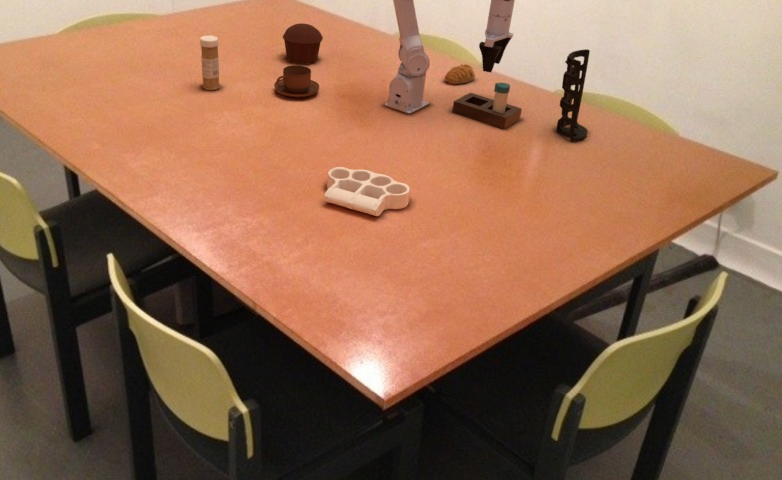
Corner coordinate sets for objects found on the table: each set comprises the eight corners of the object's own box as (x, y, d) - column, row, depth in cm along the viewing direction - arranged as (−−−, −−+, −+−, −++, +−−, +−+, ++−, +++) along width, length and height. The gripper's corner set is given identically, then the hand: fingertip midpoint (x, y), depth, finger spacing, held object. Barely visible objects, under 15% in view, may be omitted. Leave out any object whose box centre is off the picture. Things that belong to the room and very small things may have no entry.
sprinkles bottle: (213, 83, 208) (212, 33, 200) (223, 88, 205) (221, 38, 198) (199, 86, 206) (196, 36, 198) (208, 92, 203) (206, 41, 195)
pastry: (458, 87, 215) (459, 74, 213) (438, 81, 219) (439, 68, 217) (476, 79, 221) (478, 66, 219) (456, 73, 225) (458, 60, 223)
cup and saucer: (299, 104, 199) (300, 81, 195) (264, 92, 205) (264, 69, 201) (328, 92, 207) (329, 70, 204) (293, 81, 213) (294, 59, 209)
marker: (499, 123, 196) (506, 88, 191) (486, 118, 198) (492, 84, 193) (506, 119, 198) (512, 85, 193) (492, 115, 200) (499, 81, 195)
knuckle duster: (309, 201, 157) (340, 173, 168) (390, 225, 151) (417, 194, 162) (310, 187, 156) (341, 159, 167) (392, 210, 150) (419, 180, 161)
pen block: (503, 129, 193) (506, 118, 191) (452, 112, 201) (453, 101, 199) (519, 119, 199) (522, 108, 197) (468, 103, 206) (470, 92, 205)
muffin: (276, 62, 224) (277, 27, 219) (289, 50, 233) (290, 17, 228) (315, 68, 222) (316, 33, 216) (327, 56, 231) (328, 23, 225)
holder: (588, 143, 188) (600, 62, 177) (556, 142, 189) (566, 61, 179) (585, 126, 197) (596, 48, 186) (555, 125, 198) (564, 47, 188)
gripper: (508, 23, 186) (498, 78, 193) (523, 9, 197) (513, 62, 204) (480, 18, 188) (471, 72, 196) (496, 5, 199) (487, 57, 207)
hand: (491, 67), depth 200 cm, fingers open, 7 cm apart
